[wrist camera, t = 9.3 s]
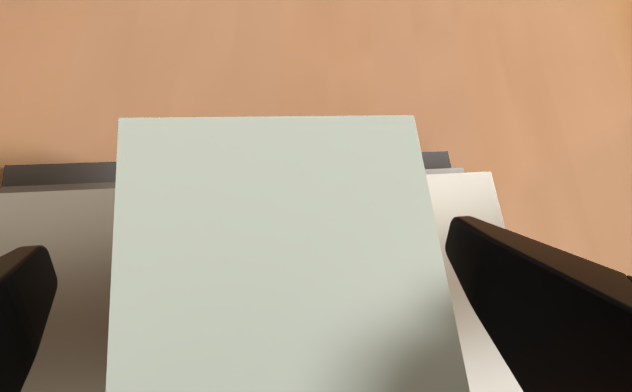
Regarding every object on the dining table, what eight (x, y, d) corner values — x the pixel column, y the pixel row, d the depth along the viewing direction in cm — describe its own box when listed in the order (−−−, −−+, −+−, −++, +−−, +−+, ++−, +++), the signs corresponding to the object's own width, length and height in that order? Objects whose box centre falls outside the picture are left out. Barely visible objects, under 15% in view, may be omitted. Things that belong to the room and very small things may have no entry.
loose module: (323, 381, 15) (493, 512, 5) (204, 399, 14) (95, 607, 4) (309, 240, 17) (412, 110, 6) (201, 248, 16) (118, 111, 5)
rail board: (500, 456, 17) (687, 555, 10) (-28, 566, 13) (-364, 868, 6) (436, 160, 21) (535, 77, 14) (20, 176, 17) (-143, 70, 10)
